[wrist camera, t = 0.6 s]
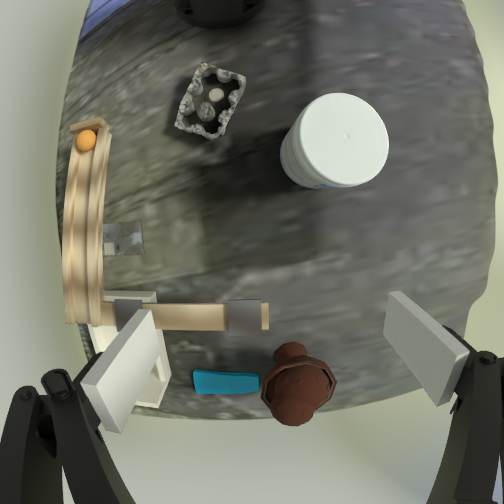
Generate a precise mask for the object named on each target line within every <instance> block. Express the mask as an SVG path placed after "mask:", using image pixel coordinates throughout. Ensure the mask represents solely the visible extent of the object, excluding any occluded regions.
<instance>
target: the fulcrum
mask: <svg viewBox="0 0 504 504" xmlns="http://www.w3.org/2000/svg"><path fill="white" fill-rule="evenodd" d="M144 253H145V251H144V242H143V231H142V221H134V222H121V223H109V224H103V236H102V256H104V255H135V254H144Z"/></svg>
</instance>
